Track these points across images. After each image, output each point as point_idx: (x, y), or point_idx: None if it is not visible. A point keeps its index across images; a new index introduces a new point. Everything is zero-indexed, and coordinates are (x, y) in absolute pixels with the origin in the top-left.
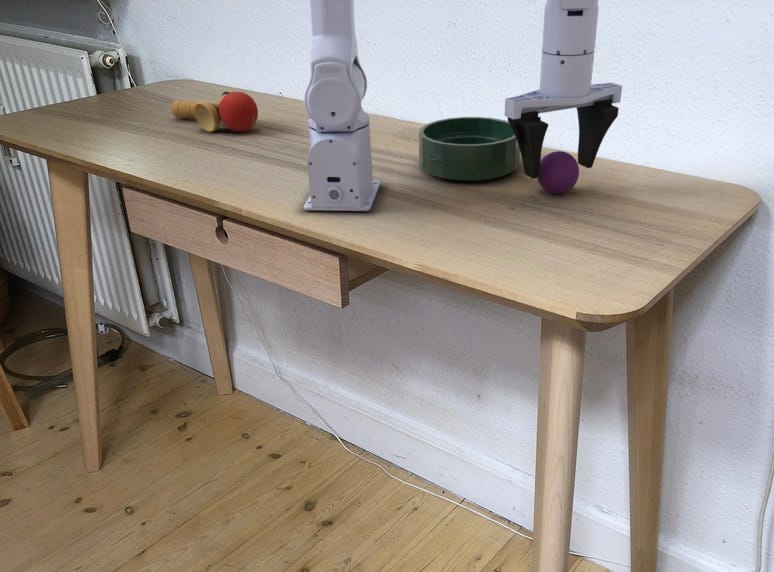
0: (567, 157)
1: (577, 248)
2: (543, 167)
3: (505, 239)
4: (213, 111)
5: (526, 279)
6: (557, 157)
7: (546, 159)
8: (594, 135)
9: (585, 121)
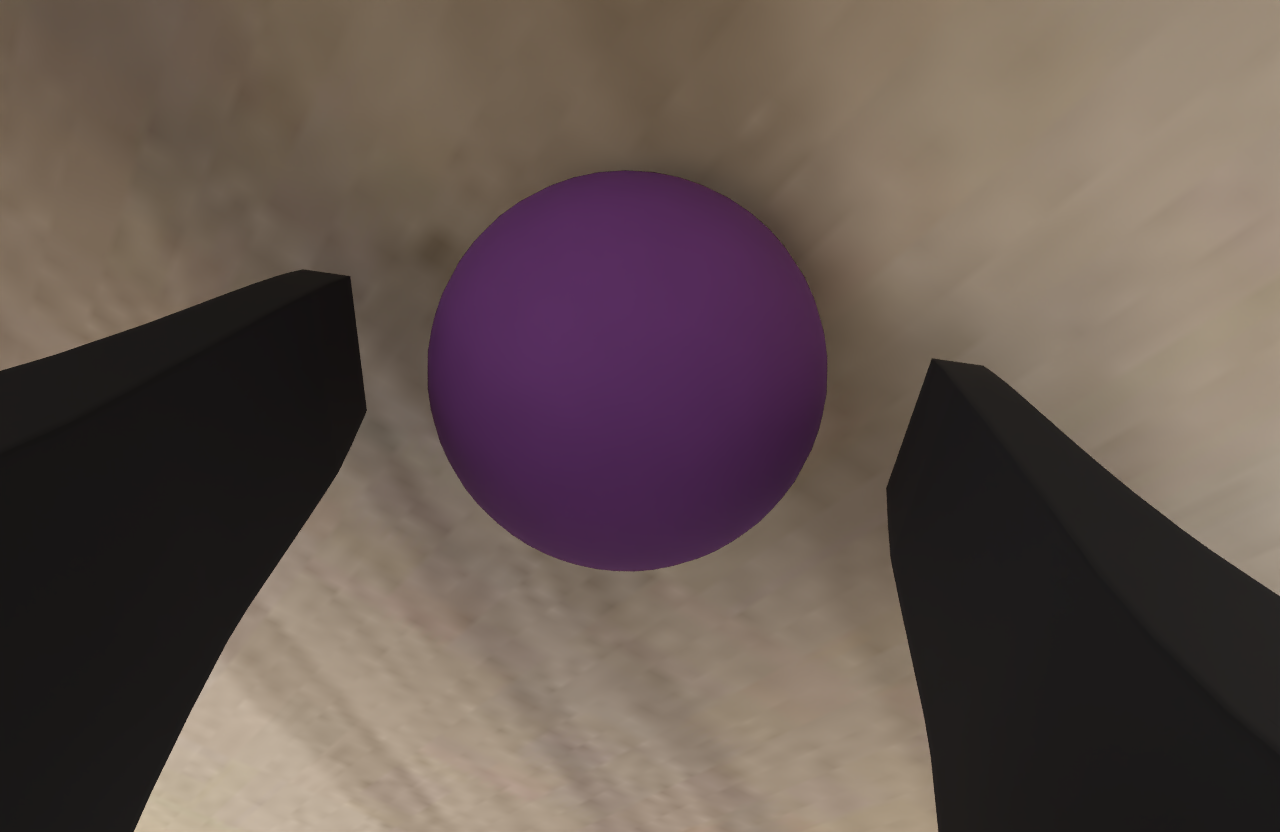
0: (621, 565)
1: (325, 758)
2: (431, 407)
3: None
4: None
5: None
6: (523, 531)
7: (456, 431)
8: (947, 797)
9: (1077, 795)
